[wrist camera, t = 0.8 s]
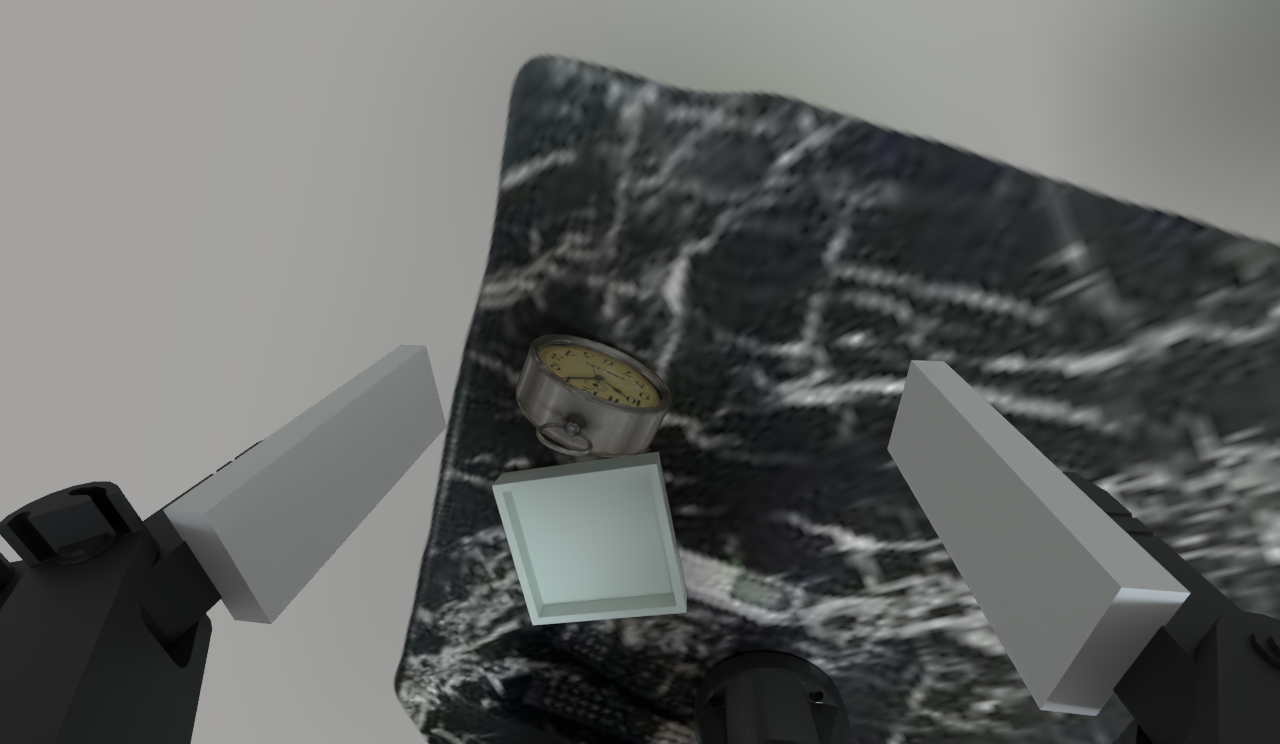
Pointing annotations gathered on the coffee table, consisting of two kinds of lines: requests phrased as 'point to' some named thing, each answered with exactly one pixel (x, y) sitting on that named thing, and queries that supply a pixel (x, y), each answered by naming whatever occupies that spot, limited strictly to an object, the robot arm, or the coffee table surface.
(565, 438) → the alarm clock
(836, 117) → the coffee table surface
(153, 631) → the robot arm
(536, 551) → the tray
